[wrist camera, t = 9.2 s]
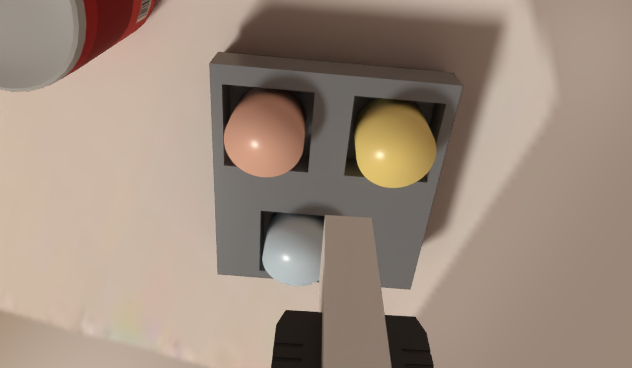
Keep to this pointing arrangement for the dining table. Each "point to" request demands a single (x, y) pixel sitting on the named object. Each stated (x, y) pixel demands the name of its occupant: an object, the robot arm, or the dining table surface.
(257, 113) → the salmon pink rounded dome
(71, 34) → the canned food
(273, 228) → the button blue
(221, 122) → the button panel
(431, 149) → the button mustard
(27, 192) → the dining table surface
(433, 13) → the dining table surface
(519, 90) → the dining table surface
